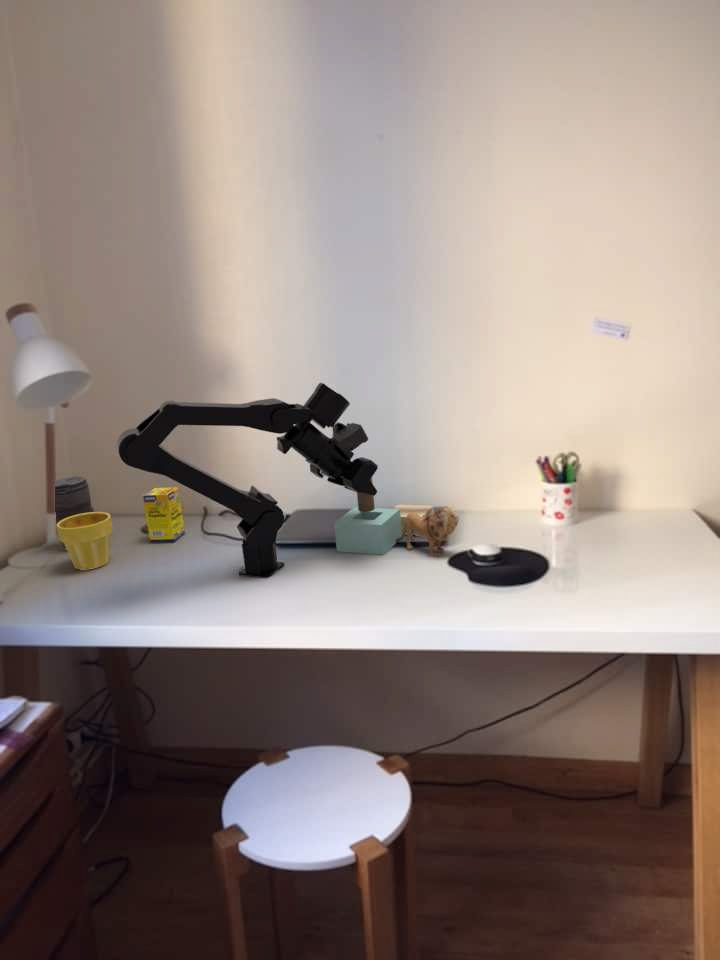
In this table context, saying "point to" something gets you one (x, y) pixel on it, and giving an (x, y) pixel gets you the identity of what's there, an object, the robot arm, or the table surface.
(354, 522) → the socket block
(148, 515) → the supplement box
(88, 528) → the plant pot
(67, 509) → the camera lens
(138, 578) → the table surface
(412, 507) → the pedestal
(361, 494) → the pin
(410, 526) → the lion figurine
